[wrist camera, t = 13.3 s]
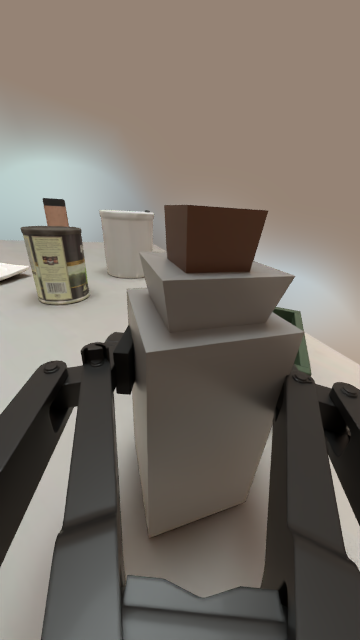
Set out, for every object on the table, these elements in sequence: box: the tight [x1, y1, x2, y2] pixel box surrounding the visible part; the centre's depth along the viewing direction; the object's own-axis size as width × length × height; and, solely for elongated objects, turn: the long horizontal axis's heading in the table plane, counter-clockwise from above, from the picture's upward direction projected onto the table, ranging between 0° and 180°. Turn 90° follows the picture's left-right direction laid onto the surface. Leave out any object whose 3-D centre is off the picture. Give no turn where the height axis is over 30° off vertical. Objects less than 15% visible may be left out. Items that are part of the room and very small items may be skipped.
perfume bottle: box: [127, 205, 305, 538], centre depth 13 cm, size 7×7×18 cm
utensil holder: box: [100, 210, 154, 278], centre depth 66 cm, size 15×15×18 cm
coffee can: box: [21, 226, 90, 305], centre depth 46 cm, size 10×10×14 cm
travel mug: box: [43, 198, 69, 227], centre depth 89 cm, size 8×8×20 cm
